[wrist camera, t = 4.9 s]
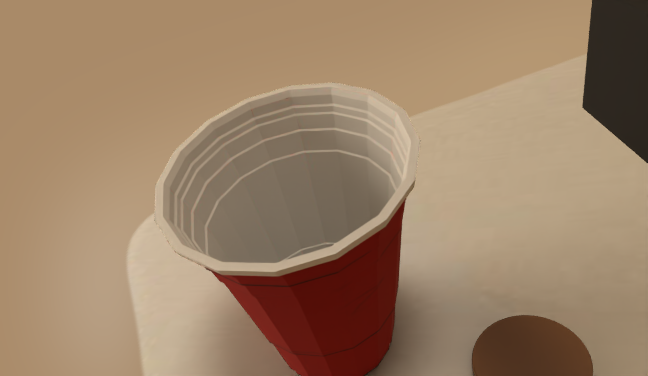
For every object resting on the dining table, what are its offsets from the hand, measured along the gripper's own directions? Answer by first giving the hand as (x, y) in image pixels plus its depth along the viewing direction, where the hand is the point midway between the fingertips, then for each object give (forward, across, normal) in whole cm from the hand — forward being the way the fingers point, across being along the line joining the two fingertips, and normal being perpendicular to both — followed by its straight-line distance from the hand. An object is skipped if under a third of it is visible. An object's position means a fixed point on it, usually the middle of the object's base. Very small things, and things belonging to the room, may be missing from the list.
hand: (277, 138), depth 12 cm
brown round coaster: (+5, +8, -19) cm, 21 cm away
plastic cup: (+10, 0, -19) cm, 22 cm away
